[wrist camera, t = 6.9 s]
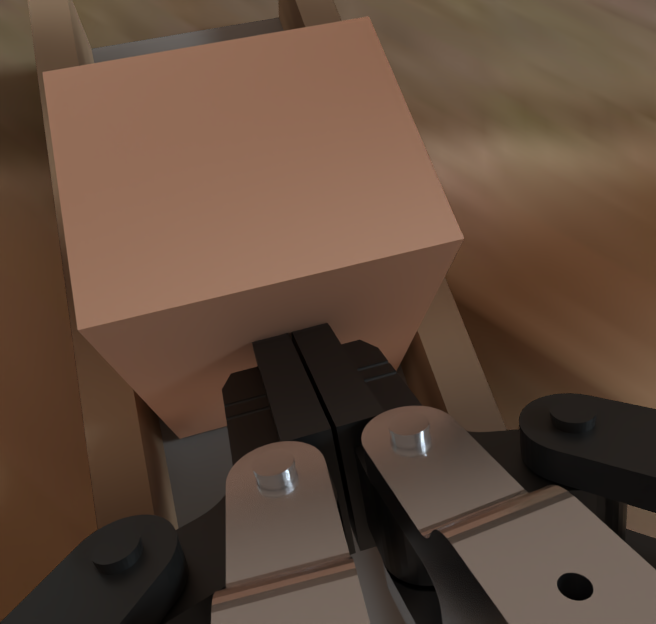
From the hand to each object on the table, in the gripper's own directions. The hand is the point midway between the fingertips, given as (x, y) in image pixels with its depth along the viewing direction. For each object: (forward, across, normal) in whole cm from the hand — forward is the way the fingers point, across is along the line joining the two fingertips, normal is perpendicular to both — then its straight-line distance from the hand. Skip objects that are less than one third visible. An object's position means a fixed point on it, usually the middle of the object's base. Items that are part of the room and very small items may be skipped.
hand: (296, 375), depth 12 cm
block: (+6, 0, +2) cm, 7 cm away
